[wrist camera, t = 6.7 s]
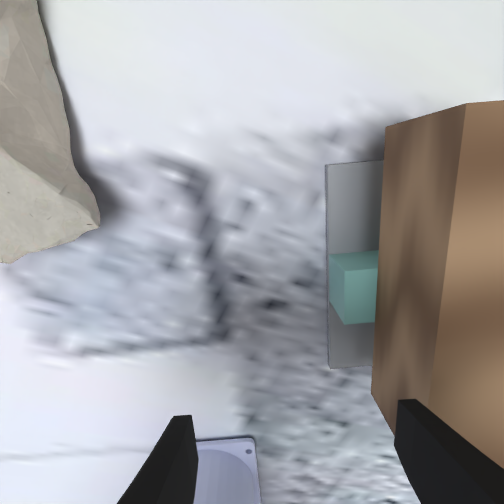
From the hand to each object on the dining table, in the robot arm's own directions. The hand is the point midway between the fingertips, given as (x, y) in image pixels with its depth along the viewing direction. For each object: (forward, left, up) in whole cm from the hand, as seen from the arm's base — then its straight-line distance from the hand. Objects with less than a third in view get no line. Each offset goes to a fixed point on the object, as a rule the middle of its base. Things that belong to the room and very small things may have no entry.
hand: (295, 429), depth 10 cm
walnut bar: (+3, -8, -6) cm, 10 cm away
